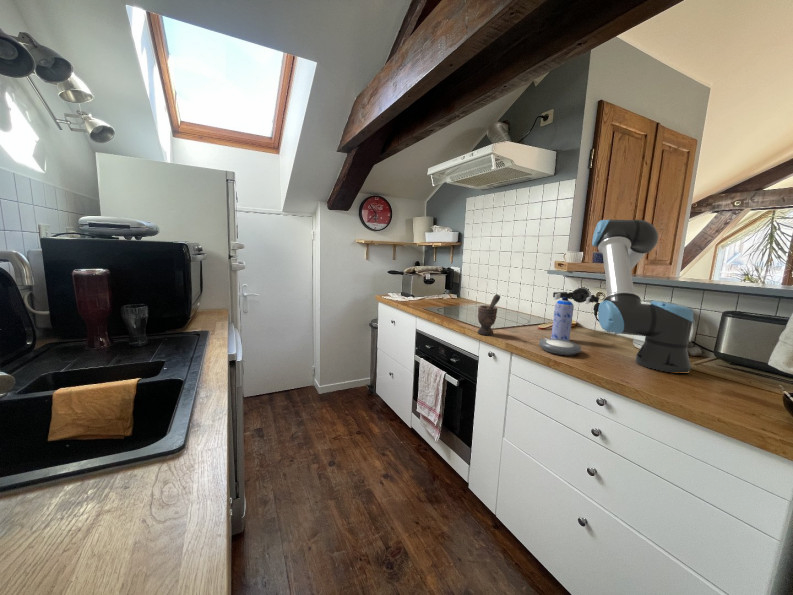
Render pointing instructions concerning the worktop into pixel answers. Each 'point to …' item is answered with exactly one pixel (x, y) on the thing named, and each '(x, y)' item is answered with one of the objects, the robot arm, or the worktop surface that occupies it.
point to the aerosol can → (562, 319)
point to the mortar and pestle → (487, 316)
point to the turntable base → (559, 352)
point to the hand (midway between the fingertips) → (570, 298)
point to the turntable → (559, 345)
